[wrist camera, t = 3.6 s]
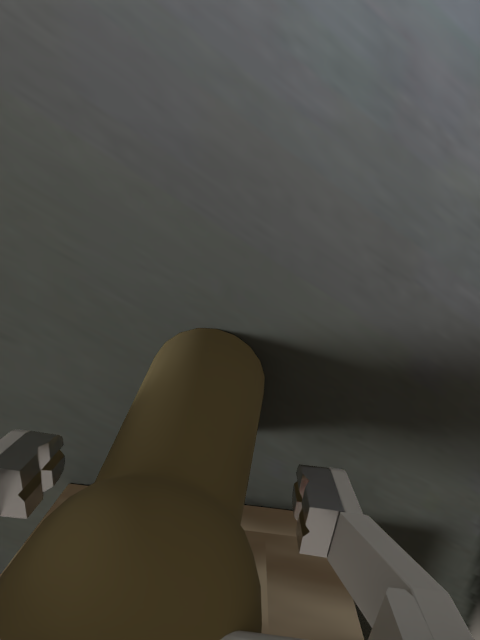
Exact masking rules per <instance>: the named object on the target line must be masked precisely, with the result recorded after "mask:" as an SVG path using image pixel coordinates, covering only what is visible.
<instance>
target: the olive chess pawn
mask: <svg viewBox="0 0 480 640" xmlns="http://www.w3.org/2000/svg"><path fill="white" fill-rule="evenodd" d="M264 383H265V376H264V373H263V369H262V366H261V362H260V360H259V359H258V357H257V356H256V355H255V353H254V352H253V350H252V349H251V347H250V346H248V345H247V344H246V343H244V342H243V341H242V340H240V339H239V338H238V337H236V336H235V335H232V334H230V333H227V332H224V331H221V330H218V329H207V328H196V329H192V330H189V331H185V332H181V333H179V334H177V335H176V336H174V337H173V338H171V339H170V340H168V341H167V342H165V344H164V345H163V346H162V348H161V349H160V350H159V352H158V353H157V354H156V356H155V358H154V360H153V362H152V364H151V366H150V368H149V370H148V372H147V374H146V376H145V379H144V381H143V383H142V385H141V387H140V389H139V391H138V393H137V395H136V397H135V399H134V401H133V404H132V406H131V408H130V410H129V412H128V414H127V416H126V418H125V420H124V422H123V424H122V426H121V428H120V431H119V433H118V435H117V437H116V439H115V441H114V443H113V445H112V447H111V449H110V451H109V453H108V456H107V458H106V460H105V462H104V464H103V466H102V468H101V470H100V472H99V474H98V476H97V478H96V481H95V483H93V484H91V485H90V486H88V487H86V488H84V489H83V490H81V491H79V492H77V493H76V494H74V495H72V496H70V497H69V498H68V499H66V500H65V501H64V502H63V503H62V504H61V505H60V506H59V507H57V508H56V509H55V510H54V511H53V512H52V513H51V514H50V515H49V516H47V517H46V518H45V519H44V520H43V521H42V523H41V524H40V525H39V526H38V528H37V529H36V530H35V532H34V533H33V534H32V536H31V537H30V538H29V540H28V541H27V542H26V543H25V545H24V546H23V547H22V549H21V550H20V551H19V553H18V554H17V555H16V556H15V558H14V559H13V560H12V562H11V563H10V564H9V566H8V567H7V568H6V570H5V571H4V572H3V574H2V575H1V576H0V639H1V640H221V639H222V638H223V637H224V636H226V635H228V634H230V633H232V632H234V631H239V630H240V631H247V632H255V633H261V631H262V609H261V585H260V581H259V577H258V572H257V568H256V563H255V559H254V555H253V552H252V549H251V547H250V544H249V542H248V539H247V536H246V534H245V531H244V529H243V528H242V527H241V519H242V513H243V508H244V502H245V496H246V491H247V485H248V480H249V474H250V468H251V463H252V457H253V451H254V446H255V440H256V435H257V429H258V423H259V418H260V412H261V406H262V401H263V395H264Z"/></svg>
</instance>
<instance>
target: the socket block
mask: <svg viewBox="0 0 480 640" xmlns="http://www.w3.org/2000/svg"><path fill="white" fill-rule="evenodd" d="M86 487H88V486H85V485H77V484H68V486H67V487H66V488H65V490H64V491H63V492H62V494H61V495H60V496H59V498H58V499H57V500H56V502H55V503H54V504H53V506H52V507H51V508H50V510H49V511H48V512H47V514H46V515H45V516H44V518H43V519H42V520H41V522H40V523H39V524H38V526H39V525H40V524H41V523H42V521H43V520H44V519H45V518H46V517H47V516H49V515H50V514H51V513H52V512H53V511H54V510H55V509H56V508H57V507H59V506H60V505H61V504H62V503H63V502H64V501H65V500H66V499H68V498H69V497H70V496H72V495H74V494H76V493H77V492H79V491H81V490H83V489H84V488H86ZM297 522H298V521H297V520H296V519H295V518H294V516H293V511H290V510H282V509H273V508H265V507H257V506H249V505H244V508H243V513H242V519H241V527H242V528H243V529H244V531H245V534H246V536H247V539H248V542H249V544H250V547H251V549H252V552H253V555H254V559H255V563H256V568H257V572H258V577H259V581H260V585H261V609H262V631H261V633H263V634H270V635H278V636H285V637H293V638H300V639H308V640H364V637H363V633H362V630H361V626H360V622H359V619H358V615H357V612H356V608H355V604H354V601H353V598H352V597H351V595H350V594H349V592H348V591H347V589H346V588H345V586H344V584H343V583H342V581H341V580H340V578H339V577H338V575H337V574H336V572H335V571H334V569H333V568H332V566H331V565H330V563H329V562H328V560H327V558H325V557H319V556H312V555H306V554H300V553H299V549H298V543H297V536H296V527H297ZM38 526H37V527H36V528H35V530H36V529H37V528H38ZM35 530H34V531H33V532H32V534H33V533H34V532H35ZM32 534H31V535H30V536H29V538H30V537H31V536H32ZM29 538H28V539H27V540H26V542H27V541H28V540H29ZM26 542H25V543H26ZM25 543H24V544H23V546H24V545H25ZM23 546H22V547H23ZM22 547H21V548H20V550H21V549H22ZM20 550H19V551H20ZM19 551H18V552H17V554H18V553H19ZM17 554H16V555H17ZM16 555H15V556H16ZM15 556H14V558H15ZM14 558H13V559H14ZM13 559H12V560H13ZM12 560H11V562H12ZM11 562H10V563H11ZM10 563H9V564H10ZM9 564H8V565H7V567H8V566H9ZM7 567H6V568H7ZM6 568H5V569H4V571H5V570H6ZM4 571H3V572H4ZM3 572H2V573H1V575H2V574H3ZM1 575H0V576H1Z"/></svg>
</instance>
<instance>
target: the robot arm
mask: <svg viewBox="0 0 480 640" xmlns="http://www.w3.org/2000/svg"><path fill="white" fill-rule="evenodd" d="M63 445H64V444H63V438H62V436H60V435H55V434H48V433H42V432H35V431H26V430H19V429H16V430H13V431H11V432H9V433H8V434H7V435H5V436H4V437H3V438H2V439H0V516H4V517H15V518H26V519H27V518H28V517H29V515H30V514H31V513H32V512H33V511H34V509H35V508H36V507H37V506H38V504H39V503H40V502H41V501H42V500H43V492H44V491H46V490H48V489H49V488H51V487H53V486H54V485H55V483H56V482H57V481H58V480H59V478H60V476H61V474H62V472H63V470H64V465H65V456H64V454H63V453H62V452H61V451H60V449H61V447H62V446H63ZM296 475H297V482H296V483H295V484H294V487H293V494H292V507H293V516H294V518H295V519H296V520H297V521H298V522H297V527H296V536H297V543H298V549H299V553H300V554H306V555H312V556H319V557H325V558H327V560H328V562H329V563H330V565H331V566H332V568H333V569H334V571H335V572H336V574H337V575H338V577H339V578H340V580H341V581H342V583H343V584H344V586H345V588H346V589H347V591H348V592H349V594H350V595H351V597H352V598H353V600H354V601H355V603H356V604H357V606H358V607H359V609H360V610H361V612H362V614H363V615H364V617H365V618H366V620H367V621H368V623H369V624H370V626H371V627H372V630H371V633H370V635H369V638H368V640H474V639H473V637H472V635H471V633H470V631H469V629H468V628H467V626H466V624H465V622H464V620H463V618H462V617H461V615H460V613H459V611H458V609H457V608H456V606H455V604H454V602H453V600H452V598H451V597H450V595H449V593H448V592H447V591H446V590H445V589H444V588H442V587H441V586H440V585H439V584H438V583H437V582H436V581H435V580H434V579H433V578H432V577H431V576H430V575H429V574H428V573H427V572H426V571H425V570H424V569H423V568H422V567H421V566H420V565H419V564H418V563H417V562H416V561H415V560H414V559H413V558H412V557H411V556H409V555H408V554H407V553H406V552H405V551H404V550H403V549H402V548H401V547H400V546H399V545H398V544H397V543H396V542H395V541H394V540H393V539H392V538H391V537H390V536H389V535H388V534H387V533H386V532H385V531H384V530H383V529H382V528H381V527H380V526H379V525H378V524H377V523H375V522H374V521H373V520H372V519H371V518H370V517H369V516H368V515H363V512H362V510H361V508H360V505H359V503H358V500H357V498H356V495H355V493H354V490H353V488H352V485H351V483H350V481H349V478H348V476H347V473H346V471H345V470H344V469H337V468H326V467H317V466H309V465H300V464H299V466H298V468H297V472H296ZM0 640H1V639H0ZM221 640H308V639H300V638H293V637H285V636H278V635H270V634H263V633H255V632H247V631H240V630H239V631H234V632H232V633H230V634H228V635H226V636H224V637H223V638H222V639H221Z"/></svg>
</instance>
